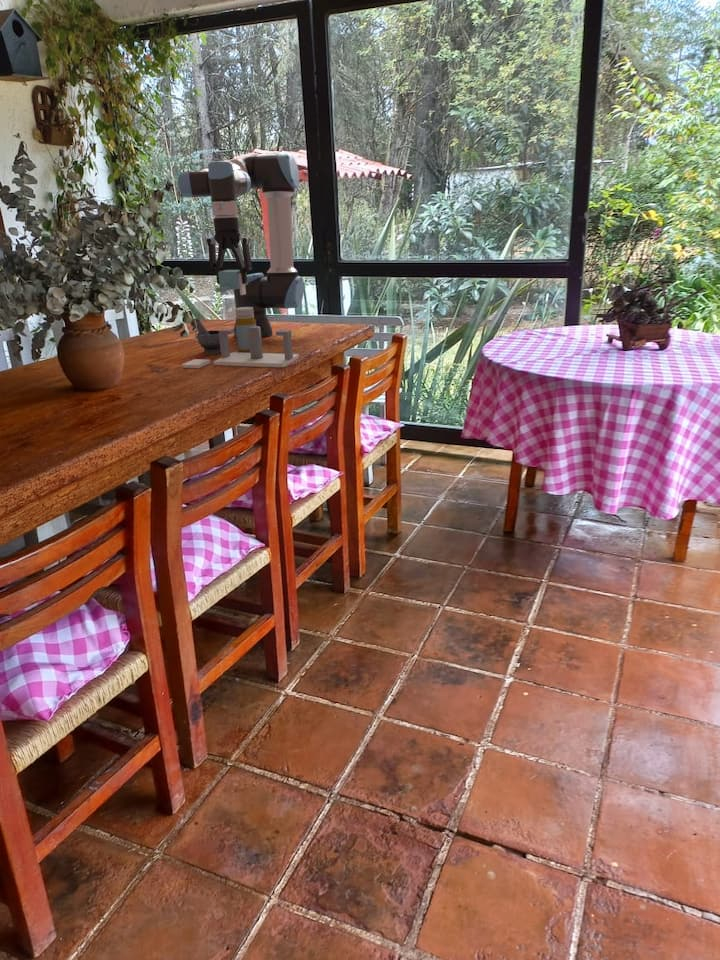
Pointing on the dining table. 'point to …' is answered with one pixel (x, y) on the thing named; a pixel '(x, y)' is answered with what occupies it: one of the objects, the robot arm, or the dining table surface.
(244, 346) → the bottle
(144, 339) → the dining table surface
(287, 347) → the white and grey stand
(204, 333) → the mortar and pestle
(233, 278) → the teal cube with tabs
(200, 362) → the tile
